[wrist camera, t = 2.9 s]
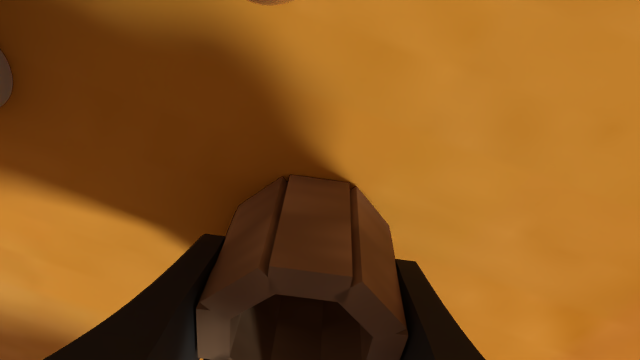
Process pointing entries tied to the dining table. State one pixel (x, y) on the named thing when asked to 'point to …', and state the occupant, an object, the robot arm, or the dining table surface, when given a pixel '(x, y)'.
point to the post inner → (5, 79)
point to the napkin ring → (303, 279)
